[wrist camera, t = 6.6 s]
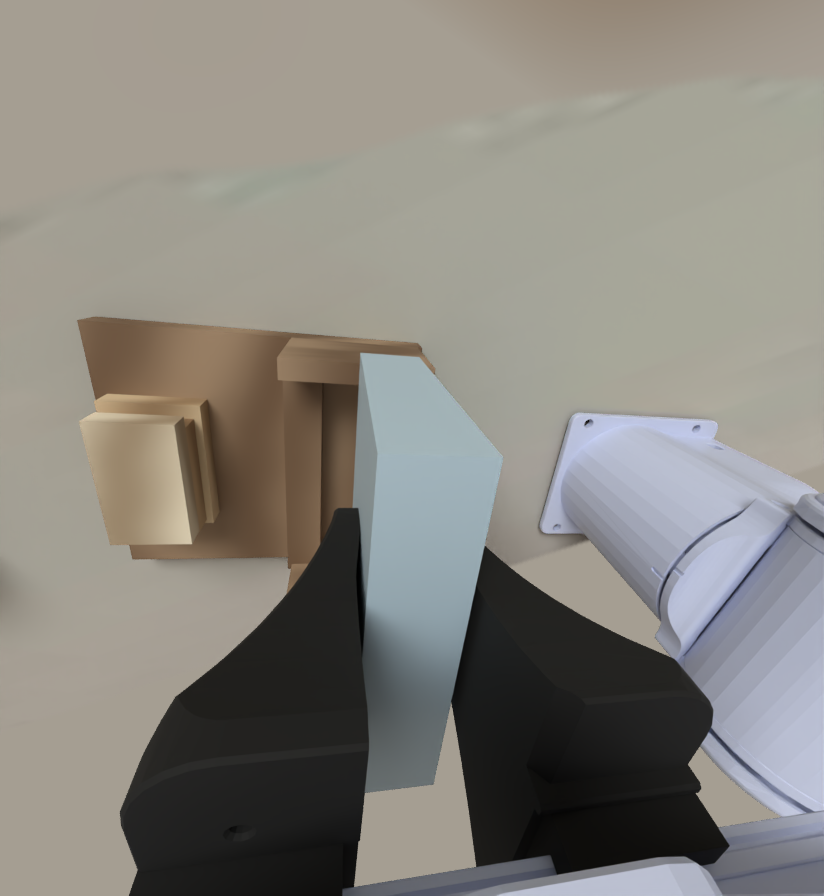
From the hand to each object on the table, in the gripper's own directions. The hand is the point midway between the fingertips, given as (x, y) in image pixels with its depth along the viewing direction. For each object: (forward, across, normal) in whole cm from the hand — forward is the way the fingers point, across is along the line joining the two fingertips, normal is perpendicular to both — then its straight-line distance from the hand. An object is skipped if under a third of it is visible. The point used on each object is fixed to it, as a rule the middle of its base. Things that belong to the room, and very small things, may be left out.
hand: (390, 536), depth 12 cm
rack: (+10, +5, +2) cm, 11 cm away
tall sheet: (+4, 0, 0) cm, 4 cm away
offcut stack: (+9, +10, +2) cm, 13 cm away
